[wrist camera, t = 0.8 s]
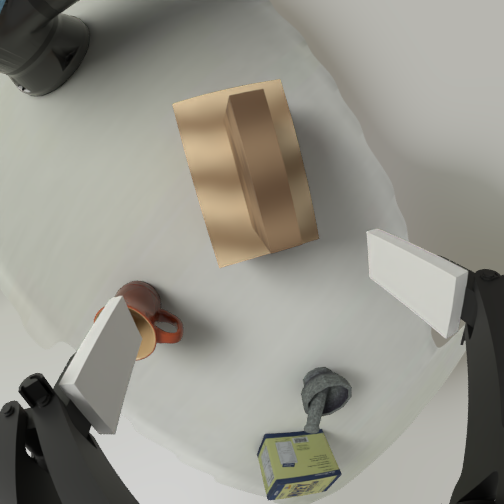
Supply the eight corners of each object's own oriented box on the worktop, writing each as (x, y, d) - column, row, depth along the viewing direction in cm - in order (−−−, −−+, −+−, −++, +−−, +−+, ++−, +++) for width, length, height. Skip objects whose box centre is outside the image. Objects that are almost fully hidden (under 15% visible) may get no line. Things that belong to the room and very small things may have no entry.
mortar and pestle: (330, 352, 49) (356, 393, 38) (344, 377, 52) (368, 415, 40) (280, 381, 49) (295, 426, 38) (299, 403, 52) (315, 444, 41)
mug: (115, 317, 41) (96, 353, 31) (116, 269, 39) (91, 298, 29) (184, 330, 43) (179, 370, 33) (190, 282, 41) (184, 315, 31)
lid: (175, 108, 27) (153, 73, 15) (275, 84, 28) (310, 43, 16) (218, 261, 33) (223, 311, 21) (312, 234, 34) (360, 267, 22)
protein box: (311, 448, 60) (327, 491, 45) (256, 453, 57) (266, 501, 42) (323, 428, 57) (343, 474, 42) (263, 433, 54) (276, 485, 39)
